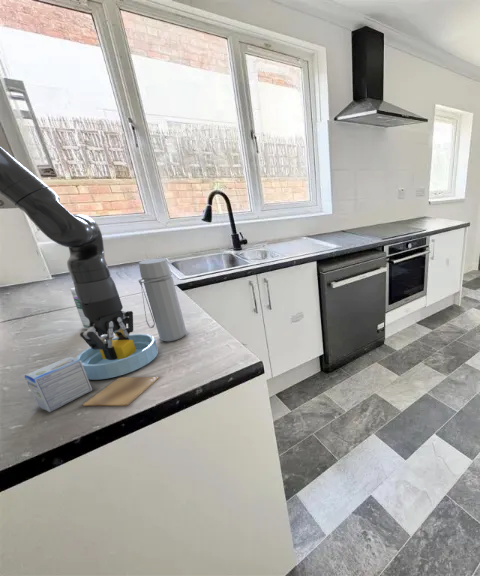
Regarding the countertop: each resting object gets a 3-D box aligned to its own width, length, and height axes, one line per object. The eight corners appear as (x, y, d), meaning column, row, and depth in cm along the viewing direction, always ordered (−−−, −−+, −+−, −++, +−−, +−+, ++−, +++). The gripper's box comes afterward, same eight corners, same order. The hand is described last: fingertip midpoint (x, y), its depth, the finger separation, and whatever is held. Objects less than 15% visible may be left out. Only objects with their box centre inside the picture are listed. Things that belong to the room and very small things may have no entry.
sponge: (102, 359, 82) (98, 347, 81) (115, 351, 86) (111, 339, 84) (125, 359, 82) (120, 347, 80) (136, 351, 85) (132, 339, 84)
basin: (63, 382, 77) (56, 366, 75) (117, 347, 92) (112, 334, 91) (128, 381, 77) (122, 365, 75) (171, 347, 92) (167, 333, 90)
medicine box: (82, 386, 75) (69, 355, 72) (93, 390, 73) (81, 359, 70) (38, 408, 68) (22, 374, 65) (50, 413, 66) (34, 379, 63)
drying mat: (82, 406, 68) (82, 404, 68) (119, 378, 78) (119, 377, 78) (127, 405, 68) (127, 404, 68) (158, 378, 78) (158, 376, 77)
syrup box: (83, 328, 105) (67, 288, 100) (102, 321, 110) (89, 283, 105) (94, 331, 103) (79, 290, 98) (113, 323, 108) (100, 284, 103)
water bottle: (186, 329, 103) (167, 256, 95) (188, 338, 97) (168, 261, 89) (152, 337, 98) (129, 261, 89) (153, 347, 92) (128, 267, 84)
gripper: (107, 286, 84) (126, 341, 90) (55, 307, 71) (81, 370, 77) (135, 286, 84) (152, 341, 90) (87, 306, 71) (111, 369, 77)
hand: (119, 354), depth 84 cm, fingers closed on sponge, 4 cm apart
